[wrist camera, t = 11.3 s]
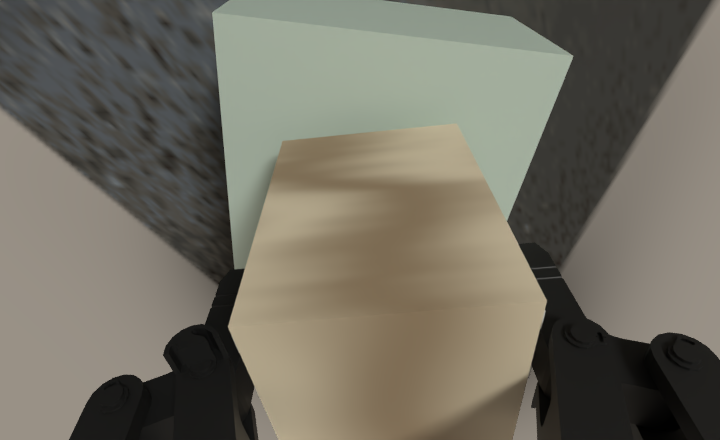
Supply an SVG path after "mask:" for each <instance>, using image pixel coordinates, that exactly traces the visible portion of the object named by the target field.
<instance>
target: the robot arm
mask: <svg viewBox="0 0 720 440" xmlns="http://www.w3.org/2000/svg"><path fill="white" fill-rule="evenodd" d="M518 245H519V247H520V249H521V251H522V253H523V255H524V256H525V258H526V260H527V262H528V264H529V266H530V268H531V270H532V272H533V274H534V276H535V278H536V280H537V282H538V284H539V286H540V288H541V290H542V292H543V294H544V296H545V298H546V300H547V303H546V307H545V311H544V315H543V319H542V323H541V327H540V331H539V335H538V339H537V343H536V347H535V351H534V355H533V359H532V363H531V367H530V371H531V368H532V367H533V370H534V372H535V375H536V377H537V380H538V383H537V386H536V390H535V393H534V397H533V401H532V405H531V407H532V408H536V417H537V440H720V360H719V359H718V357H717V356H716V355H715V354H714V353H713V352H712V351H711V350H710V349H709V348H708V347H707V346H706V345H704V344H702V343H701V342H699V341H698V340H696V339H694V338H691V337H688V336H686V335H683V334H677V333H664V334H659V335H658V336H656V337H655V338H654V339H653V340H652V341H651V343H650V344H648V343H643V342H637V341H632V340H626V339H621V338H618V337H614V336H611V335H609V334H608V333H607V332H606V331H605V330H604V329H603V328H602V327H601V326H600V325H598V324H596V323H595V322H593V321H591V320H589V319H587V318H586V317H585V315H584V314H583V312H582V310H581V308H580V307H579V305H578V303H577V302H576V300H575V298H574V296H573V295H572V293H571V292H570V290H569V288H568V286H567V284H566V283H565V281H564V279H562V277H561V274H560V272H559V271H558V269H557V268H556V267H555V264H554V262H553V260H552V259H551V257H550V255H549V253H548V252H546V251H545V250H544V249H542V248H541V247H540V246H539V245H537V244H536V243H525V244H518ZM244 270H245V269H233V270H230V271H229V272H228V273H227V274H226V276H225V277H224V278H223V279H222V280H221V281H220V283H219V286H218V289H217V293H216V297H215V298H214V300H213V303H212V308H211V309H210V312H209V315H208V317H207V320H206V323H205V325H203V324H200V325H193V326H190V327H188V328H186V329H183V330H181V331H180V332H179V333H177V334H176V335H175V336H174V337H172V339H171V340H170V341H169V343H168V344H167V345H166V347H165V350H164V354H163V356H164V357H165V359H166V361H167V362H168V364H169V365H170V367H171V369H172V370H173V371H172V372H170V373H168V374H166V375H163V376H160V377H158V378H154V379H152V380H149V381H146V382H142V381H141V379H139V378H137V377H136V376H134V375H122V376H119V377H115V378H112V379H111V380H109V381H107V382H105V383H104V384H102V385H101V386H100V387H99V388H98V389H97V390H96V391H95V392H94V393H93V394H92V396H91V397H90V399H89V400H88V402H87V403H86V405H85V408H84V409H83V412H82V414H81V416H80V418H79V420H78V422H77V424H76V426H75V428H74V431H73V433H72V435H71V437H70V439H69V440H258V434H257V427H256V418H255V411H254V409H253V406H252V404H251V400H252V395H253V390H254V388H255V386H254V384H253V382H252V379H251V377H250V375H249V373H248V371H247V368H246V366H245V364H244V362H243V359H242V357H241V355H240V353H239V351H238V348H237V346H236V344H235V342H234V339H233V337H232V335H231V333H230V331H229V328H228V325H229V321H230V318H231V315H232V311H233V308H234V304H235V301H236V298H237V294H238V291H239V287H240V284H241V281H242V277H243V274H244ZM530 371H529V375H530ZM529 375H528V378H529ZM255 390H256V388H255ZM256 393H257V391H256ZM257 395H258V393H257ZM258 397H259V395H258ZM259 398H260V397H259Z"/></svg>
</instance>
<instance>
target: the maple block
mask: <svg viewBox="0 0 720 440" xmlns="http://www.w3.org/2000/svg"><path fill="white" fill-rule="evenodd" d="M546 303H547V300H546V298H545V296H544V294H543V292H542V290H541V288H540V286H539V284H538V282H537V280H536V278H535V276H534V274H533V272H532V270H531V268H530V266H529V264H528V262H527V260H526V258H525V256H524V255H523V253H522V251H521V249H520V247H519V245H518V243H517V241H516V239H515V237H514V235H513V233H512V231H511V229H510V227H509V225H508V223H507V221H506V219H505V217H504V215H503V213H502V211H501V209H500V207H499V205H498V203H497V201H496V199H495V197H494V195H493V194H492V192H491V190H490V188H489V186H488V184H487V182H486V180H485V178H484V176H483V174H482V172H481V170H480V168H479V166H478V164H477V162H476V160H475V158H474V156H473V154H472V152H471V150H470V148H469V146H468V144H467V142H466V140H465V138H464V136H463V134H462V133H461V131H460V129H459V127H458V125H457V123H456V124H446V125H436V126H426V127H416V128H406V129H396V130H386V131H376V132H367V133H357V134H347V135H337V136H327V137H317V138H307V139H297V140H287V141H282V145H281V148H280V151H279V155H278V158H277V162H276V165H275V168H274V172H273V175H272V179H271V182H270V185H269V189H268V192H267V196H266V199H265V202H264V206H263V209H262V213H261V216H260V219H259V223H258V226H257V230H256V233H255V236H254V240H253V243H252V247H251V250H250V253H249V257H248V260H247V264H246V267H245V270H244V274H243V277H242V281H241V284H240V287H239V291H238V294H237V298H236V301H235V304H234V308H233V311H232V315H231V318H230V321H229V325H228V328H229V331H230V333H231V335H232V337H233V339H234V342H235V344H236V346H237V348H238V351H239V353H240V355H241V357H242V359H243V362H244V364H245V366H246V368H247V371H248V373H249V375H250V377H251V379H252V382H253V384H254V386H255V388H256V391H257V393H258V395H259V397H260V399H261V402H262V404H263V406H264V408H265V411H266V413H267V415H268V417H269V419H270V421H271V424H272V426H273V428H274V431H275V433H276V435H277V437H278V439H279V440H512V439H513V435H514V431H515V427H516V423H517V419H518V415H519V411H520V407H521V403H522V399H523V395H524V391H525V387H526V383H527V379H528V375H529V371H530V367H531V363H532V359H533V355H534V351H535V347H536V343H537V339H538V335H539V331H540V327H541V323H542V319H543V315H544V311H545V307H546Z"/></svg>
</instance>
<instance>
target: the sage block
mask: <svg viewBox="0 0 720 440" xmlns="http://www.w3.org/2000/svg"><path fill="white" fill-rule="evenodd" d="M212 15H213V27H214V38H215V50H216V62H217V73H218V85H219V96H220V108H221V119H222V131H223V143H224V154H225V166H226V177H227V189H228V201H229V212H230V224H231V235H232V247H233V258H234V269H245V267H246V264H247V260H248V257H249V253H250V250H251V247H252V243H253V240H254V236H255V233H256V230H257V226H258V223H259V219H260V216H261V213H262V209H263V206H264V202H265V199H266V196H267V192H268V189H269V185H270V182H271V179H272V175H273V172H274V168H275V165H276V162H277V158H278V155H279V151H280V148H281V145H282V141H287V140H297V139H307V138H317V137H327V136H337V135H347V134H357V133H367V132H376V131H386V130H396V129H406V128H416V127H426V126H436V125H446V124H456V123H457V125H458V127H459V129H460V131H461V133H462V134H463V136H464V138H465V140H466V142H467V144H468V146H469V148H470V150H471V152H472V154H473V156H474V158H475V160H476V162H477V164H478V166H479V168H480V170H481V172H482V174H483V176H484V178H485V180H486V182H487V184H488V186H489V188H490V190H491V192H492V194H493V195H494V197H495V199H496V201H497V203H498V205H499V207H500V209H501V211H502V213H503V215H504V217H505V219H506V221H507V219H508V217H509V214H510V212H511V209H512V207H513V204H514V202H515V199H516V197H517V194H518V192H519V190H520V187H521V185H522V182H523V180H524V177H525V175H526V172H527V170H528V167H529V165H530V162H531V160H532V157H533V155H534V152H535V150H536V147H537V145H538V142H539V140H540V138H541V135H542V133H543V130H544V128H545V125H546V123H547V120H548V118H549V115H550V113H551V110H552V108H553V105H554V103H555V100H556V98H557V95H558V93H559V91H560V88H561V86H562V83H563V81H564V78H565V76H566V73H567V71H568V68H569V66H570V63H571V61H572V58H573V55H571V54H569V53H568V52H566V51H565V50H563V49H561V48H560V47H558V46H557V45H555V44H554V43H552V42H550V41H549V40H547V39H546V38H544V37H542V36H541V35H539V34H538V33H536V32H534V31H533V30H531V29H530V28H528V27H527V26H525V25H523V24H522V23H520V22H519V21H517V20H515V19H514V18H512V17H509V16H501V15H493V14H485V13H477V12H469V11H462V10H454V9H446V8H438V7H430V6H422V5H414V4H407V3H399V2H391V1H383V0H229V1H228V2H226V3H225V4H224V5H222V6H221V7H219V8H218V9H216V10H215V11H214V12H212Z"/></svg>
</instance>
